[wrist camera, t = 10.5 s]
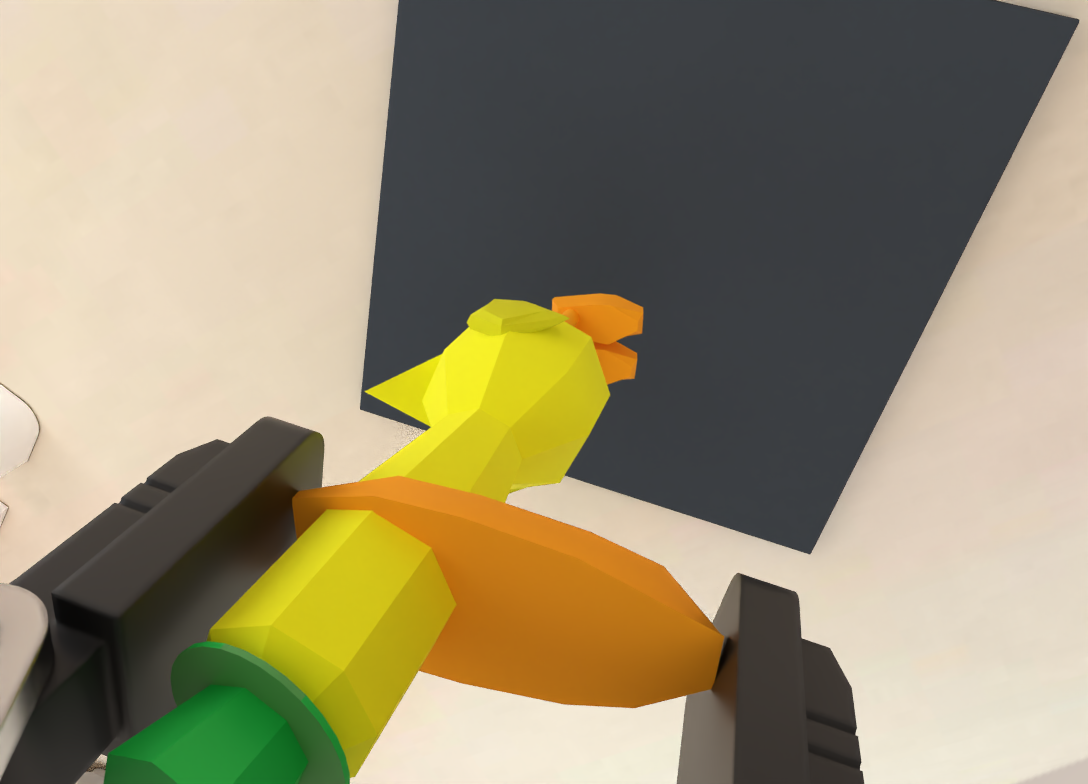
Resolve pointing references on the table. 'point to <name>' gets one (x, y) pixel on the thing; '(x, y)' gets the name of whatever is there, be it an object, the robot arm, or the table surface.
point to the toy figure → (438, 573)
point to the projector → (92, 777)
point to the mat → (702, 213)
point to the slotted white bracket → (15, 435)
